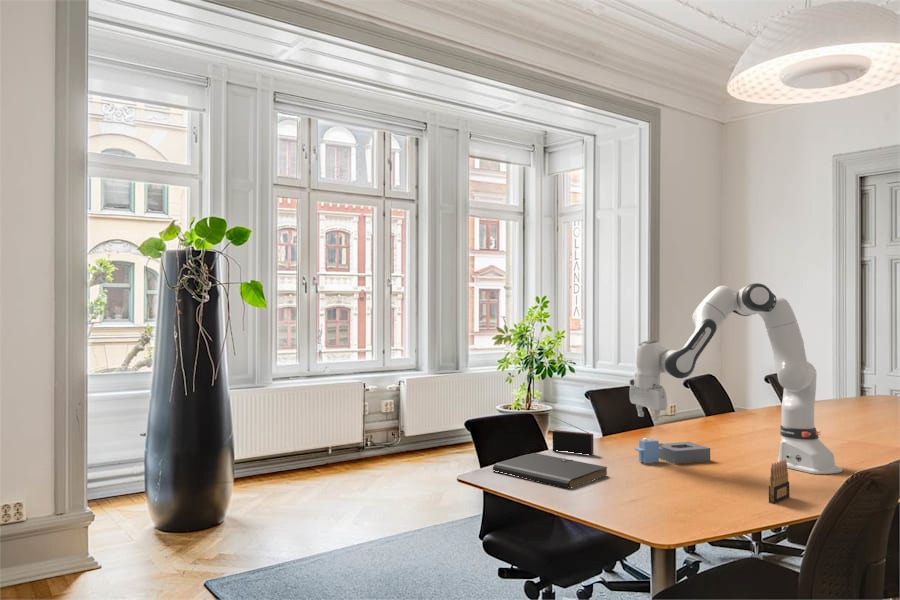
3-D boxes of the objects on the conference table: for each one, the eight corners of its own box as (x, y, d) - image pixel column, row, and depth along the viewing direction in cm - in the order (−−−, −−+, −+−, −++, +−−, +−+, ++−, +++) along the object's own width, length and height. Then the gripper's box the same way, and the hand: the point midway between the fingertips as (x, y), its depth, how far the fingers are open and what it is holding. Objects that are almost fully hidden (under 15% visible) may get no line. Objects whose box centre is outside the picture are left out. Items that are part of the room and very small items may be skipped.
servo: (667, 461, 256) (667, 438, 256) (640, 464, 253) (640, 440, 253) (661, 459, 260) (660, 436, 260) (634, 461, 257) (634, 438, 257)
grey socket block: (710, 461, 257) (710, 448, 257) (674, 464, 252) (674, 451, 252) (688, 454, 269) (688, 441, 269) (654, 456, 265) (654, 444, 265)
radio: (593, 454, 270) (593, 417, 270) (591, 456, 267) (591, 418, 267) (550, 449, 279) (550, 414, 279) (548, 451, 276) (547, 415, 277)
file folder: (607, 465, 235) (567, 479, 218) (608, 477, 235) (568, 492, 218) (533, 451, 259) (492, 463, 242) (534, 462, 259) (492, 474, 242)
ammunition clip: (783, 496, 210) (783, 458, 210) (789, 497, 208) (789, 459, 208) (768, 502, 203) (768, 463, 203) (774, 504, 201) (774, 464, 201)
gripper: (671, 385, 248) (671, 423, 248) (640, 379, 267) (640, 413, 267) (656, 386, 246) (656, 423, 246) (626, 380, 266) (626, 414, 265)
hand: (647, 418), depth 257 cm, fingers open, 8 cm apart
